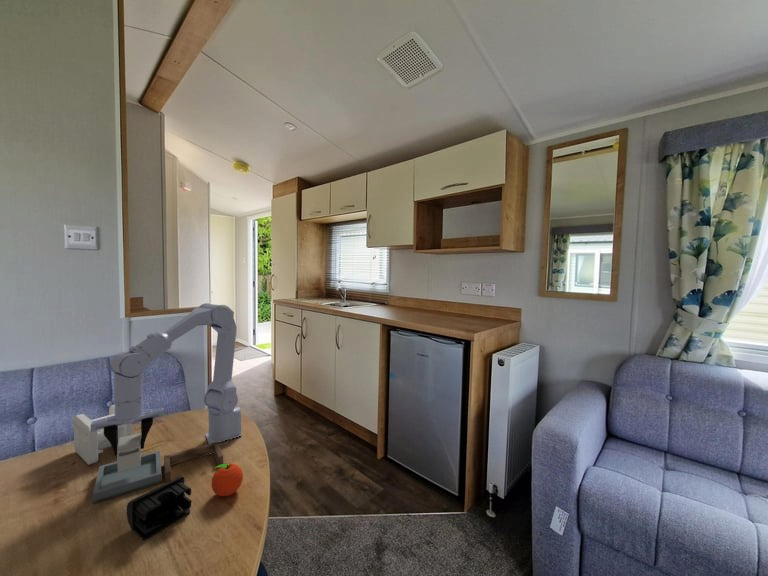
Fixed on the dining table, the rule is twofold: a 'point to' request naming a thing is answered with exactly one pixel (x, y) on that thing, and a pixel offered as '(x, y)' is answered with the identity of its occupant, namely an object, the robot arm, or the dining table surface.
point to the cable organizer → (94, 436)
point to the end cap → (159, 508)
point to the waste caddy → (129, 452)
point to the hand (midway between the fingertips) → (129, 450)
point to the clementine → (227, 479)
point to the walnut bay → (191, 457)
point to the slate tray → (127, 478)
